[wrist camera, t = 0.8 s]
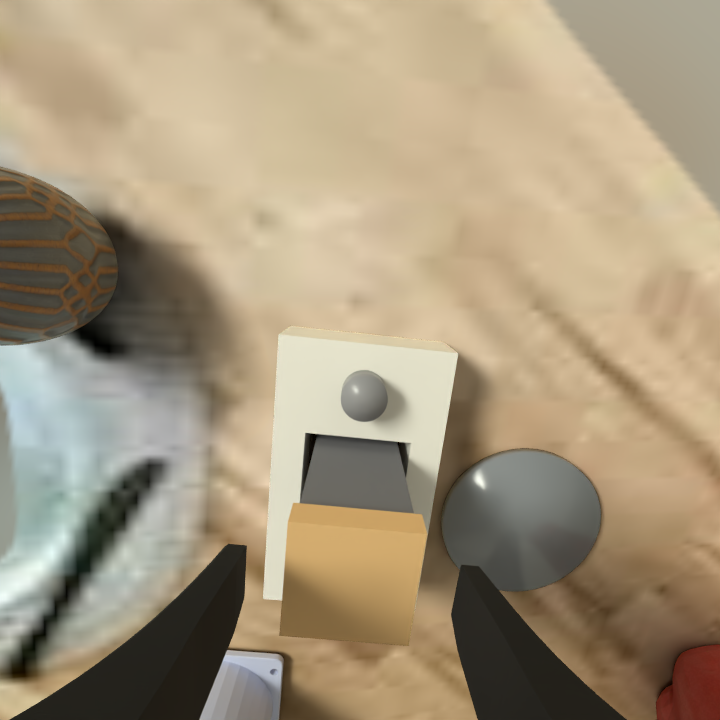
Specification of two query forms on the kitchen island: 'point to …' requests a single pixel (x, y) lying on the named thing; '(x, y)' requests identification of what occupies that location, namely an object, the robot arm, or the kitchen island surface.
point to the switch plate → (354, 415)
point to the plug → (353, 546)
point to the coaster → (521, 518)
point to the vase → (49, 262)
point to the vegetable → (693, 687)
